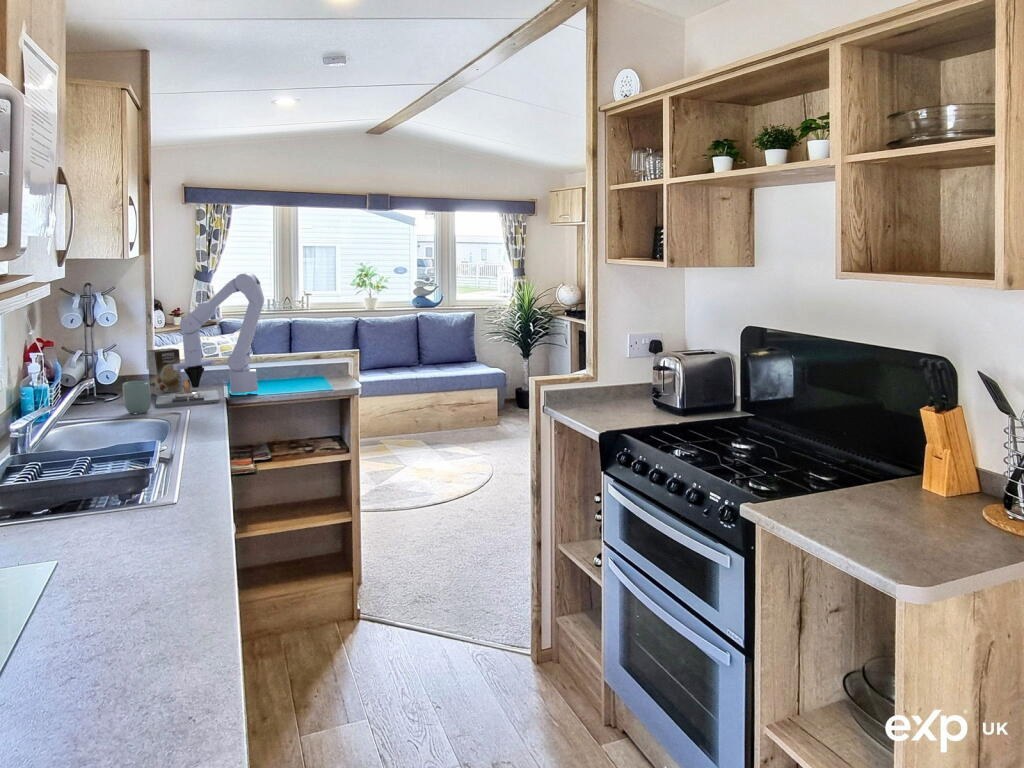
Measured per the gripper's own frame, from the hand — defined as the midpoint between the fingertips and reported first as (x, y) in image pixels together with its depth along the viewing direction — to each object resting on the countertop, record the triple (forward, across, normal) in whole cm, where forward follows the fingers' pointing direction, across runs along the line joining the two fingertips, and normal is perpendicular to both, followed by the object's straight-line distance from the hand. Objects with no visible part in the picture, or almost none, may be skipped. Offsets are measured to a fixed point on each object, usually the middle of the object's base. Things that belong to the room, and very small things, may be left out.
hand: (195, 387), depth 267 cm
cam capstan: (+1, +6, +4) cm, 7 cm away
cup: (+3, +27, +11) cm, 30 cm away
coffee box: (+3, +4, -13) cm, 14 cm away
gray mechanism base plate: (+3, +7, +6) cm, 9 cm away
